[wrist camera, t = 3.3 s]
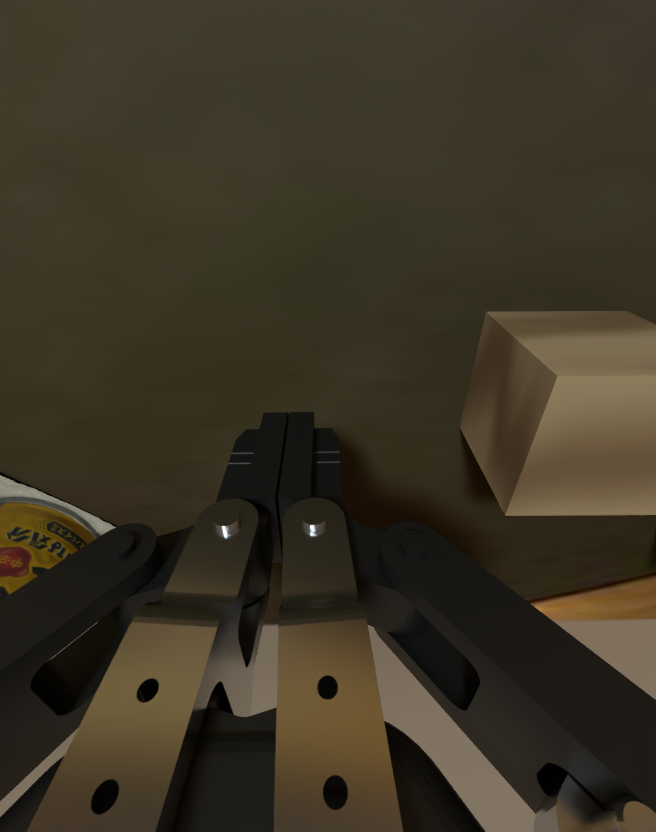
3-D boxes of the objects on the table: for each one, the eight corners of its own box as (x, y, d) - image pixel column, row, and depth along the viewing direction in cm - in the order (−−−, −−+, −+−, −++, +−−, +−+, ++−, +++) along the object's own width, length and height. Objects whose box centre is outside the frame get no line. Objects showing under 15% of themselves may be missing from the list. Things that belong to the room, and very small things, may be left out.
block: (485, 311, 13) (557, 376, 9) (625, 310, 13) (761, 374, 9) (459, 425, 16) (504, 515, 12) (574, 424, 16) (661, 514, 12)
